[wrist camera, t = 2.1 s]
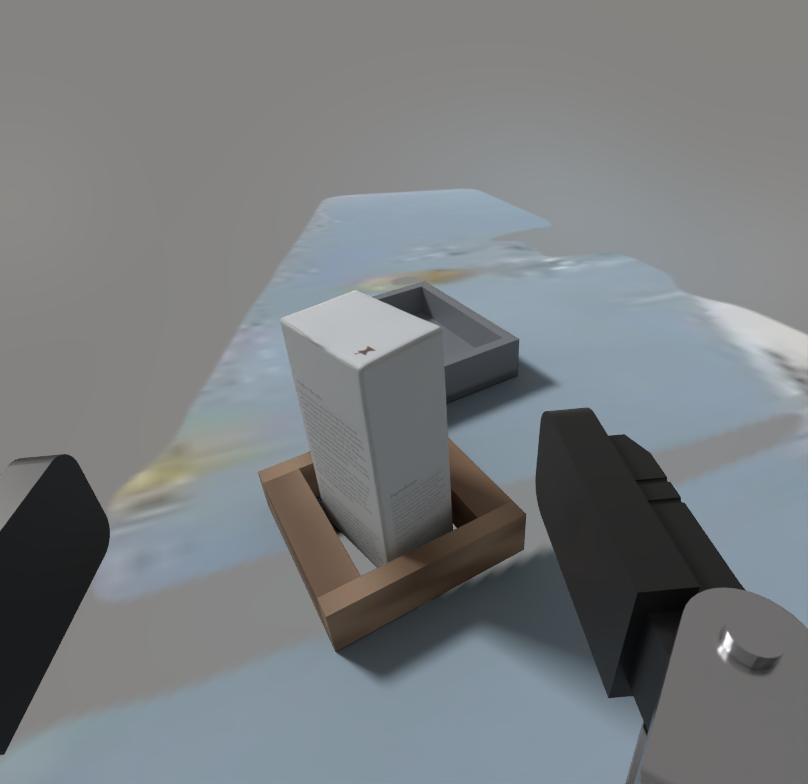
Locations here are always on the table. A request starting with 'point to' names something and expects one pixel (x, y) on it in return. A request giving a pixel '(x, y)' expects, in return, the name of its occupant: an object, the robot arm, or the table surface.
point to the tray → (461, 339)
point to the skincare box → (374, 420)
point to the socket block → (403, 577)
